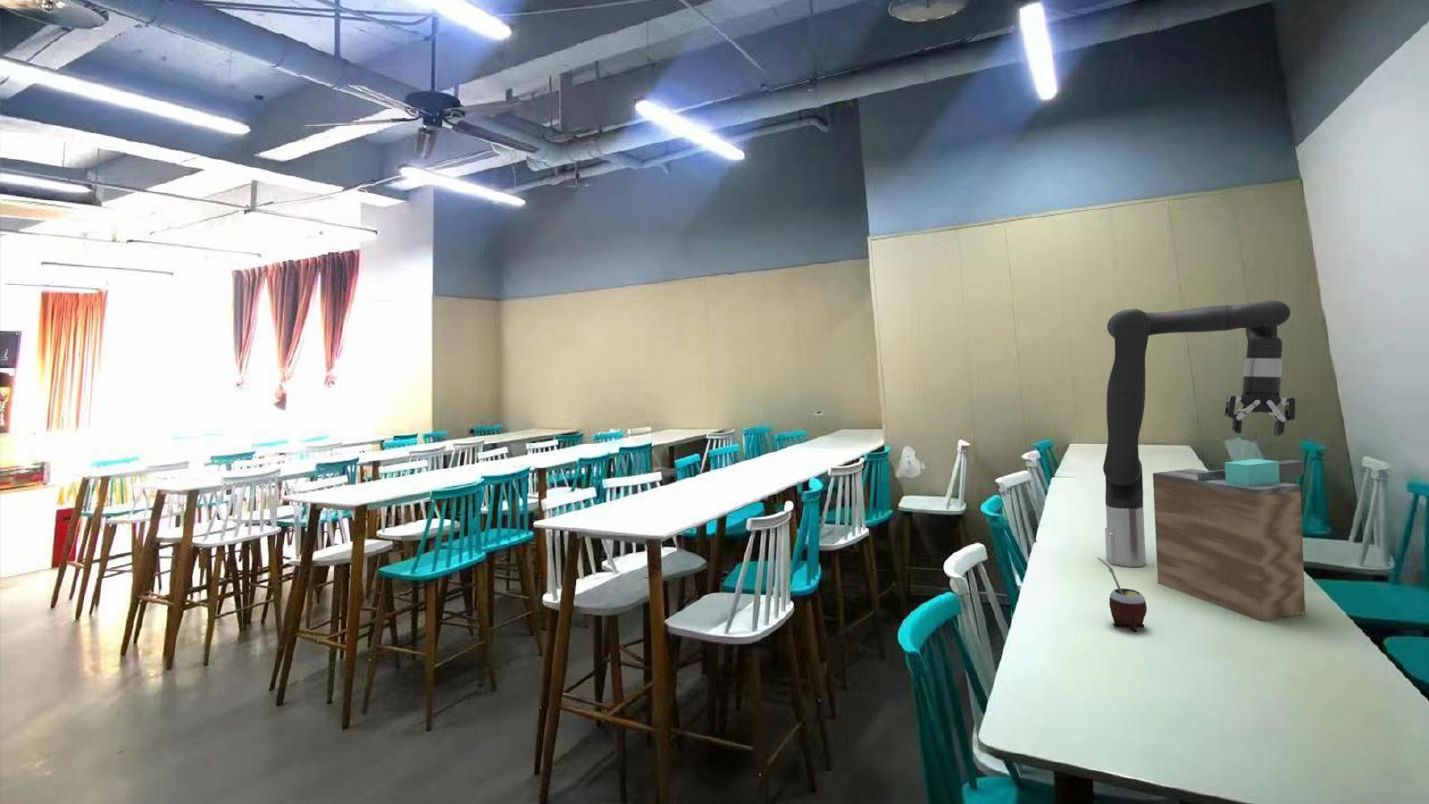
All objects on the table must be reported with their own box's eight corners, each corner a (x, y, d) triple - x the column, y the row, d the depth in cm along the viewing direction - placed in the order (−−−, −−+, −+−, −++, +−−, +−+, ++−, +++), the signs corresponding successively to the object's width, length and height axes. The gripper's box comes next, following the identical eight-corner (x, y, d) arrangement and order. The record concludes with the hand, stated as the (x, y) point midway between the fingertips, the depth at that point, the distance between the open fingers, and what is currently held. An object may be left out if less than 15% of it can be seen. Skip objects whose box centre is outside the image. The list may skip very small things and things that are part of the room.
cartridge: (1285, 475, 143) (1284, 455, 143) (1309, 478, 138) (1308, 457, 138) (1225, 483, 140) (1224, 462, 140) (1248, 486, 135) (1247, 465, 135)
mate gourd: (1154, 633, 131) (1151, 567, 130) (1114, 632, 132) (1111, 567, 132) (1136, 619, 138) (1134, 556, 138) (1099, 619, 140) (1096, 557, 139)
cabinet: (1198, 577, 160) (1193, 461, 159) (1307, 613, 135) (1302, 475, 133) (1157, 583, 158) (1152, 465, 157) (1260, 621, 133) (1255, 481, 132)
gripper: (1235, 374, 159) (1230, 434, 160) (1303, 376, 153) (1298, 437, 155) (1223, 374, 166) (1219, 431, 167) (1288, 375, 160) (1283, 434, 161)
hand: (1257, 434), depth 161 cm, fingers open, 8 cm apart
